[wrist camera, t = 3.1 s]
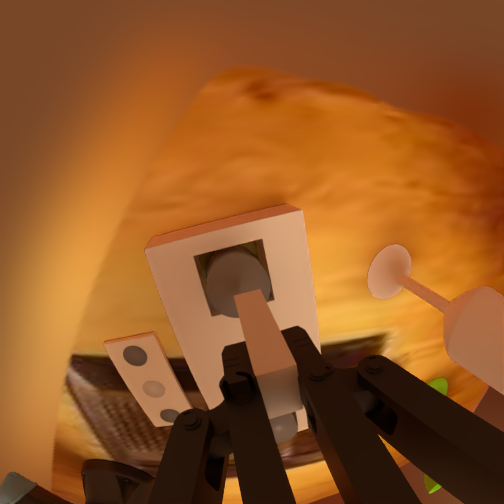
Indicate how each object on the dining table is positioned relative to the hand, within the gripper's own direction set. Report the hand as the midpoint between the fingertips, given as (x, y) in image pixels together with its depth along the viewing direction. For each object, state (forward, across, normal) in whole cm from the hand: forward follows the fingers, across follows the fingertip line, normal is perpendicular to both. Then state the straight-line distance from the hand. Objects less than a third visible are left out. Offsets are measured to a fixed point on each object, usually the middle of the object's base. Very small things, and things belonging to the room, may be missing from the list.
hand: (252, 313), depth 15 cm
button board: (+10, 0, -9) cm, 13 cm away
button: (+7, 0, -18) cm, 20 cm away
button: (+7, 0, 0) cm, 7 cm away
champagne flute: (+10, +17, -6) cm, 20 cm away
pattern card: (+10, -12, -12) cm, 20 cm away
